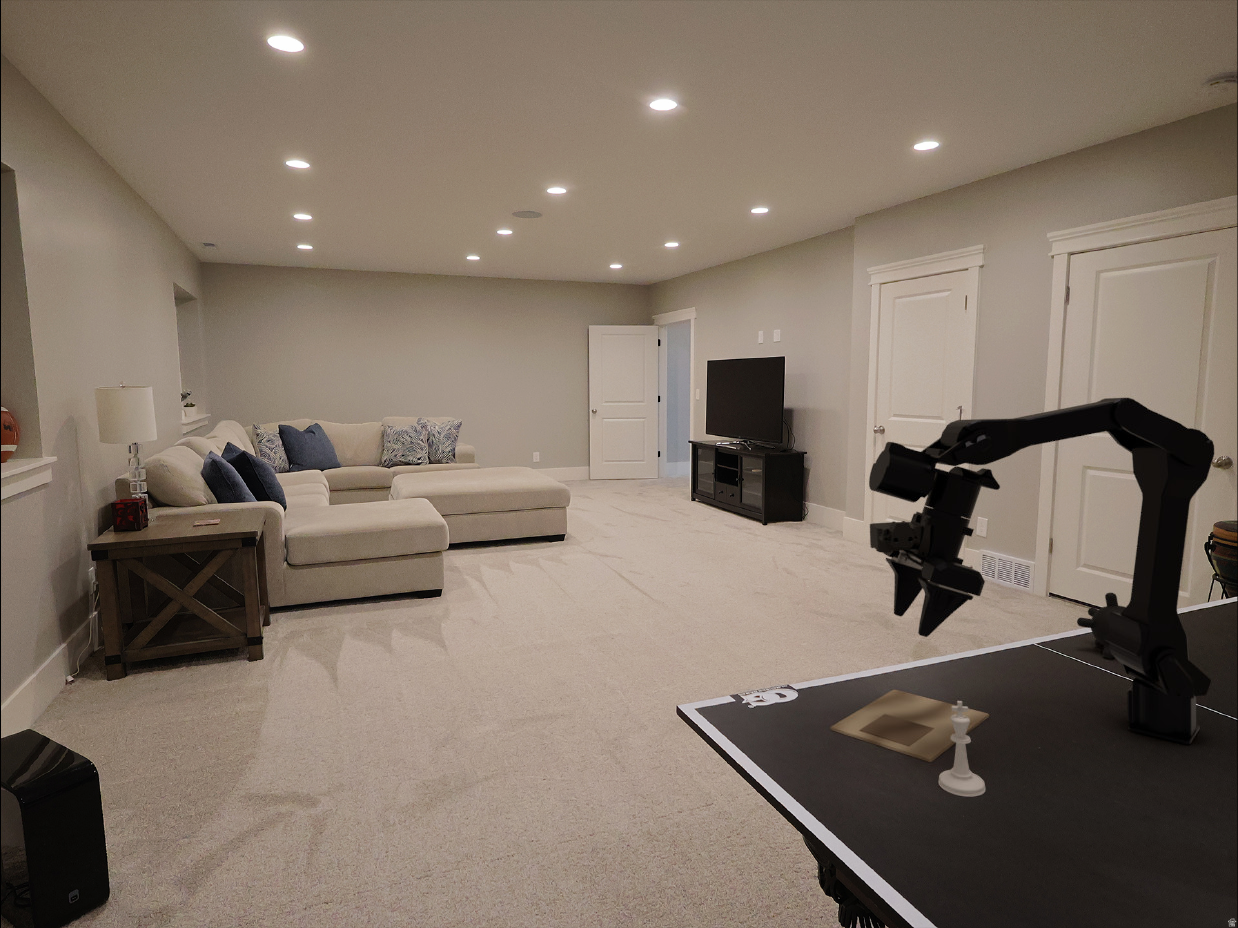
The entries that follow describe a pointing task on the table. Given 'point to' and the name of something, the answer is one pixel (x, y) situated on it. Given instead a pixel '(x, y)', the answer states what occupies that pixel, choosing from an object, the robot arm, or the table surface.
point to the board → (907, 724)
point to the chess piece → (961, 761)
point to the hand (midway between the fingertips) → (909, 625)
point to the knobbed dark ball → (1102, 622)
